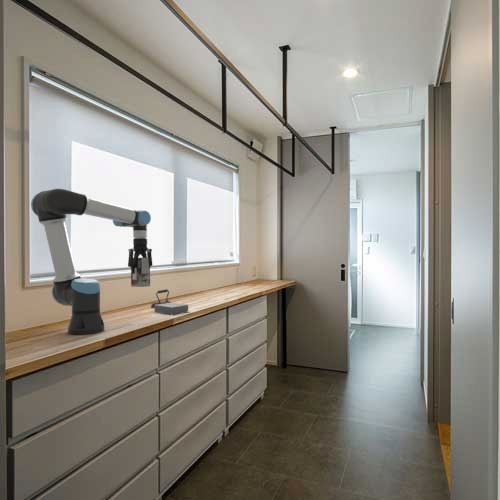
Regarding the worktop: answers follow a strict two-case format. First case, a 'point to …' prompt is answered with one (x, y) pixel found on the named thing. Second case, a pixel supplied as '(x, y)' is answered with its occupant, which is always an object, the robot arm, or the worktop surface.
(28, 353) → the worktop surface
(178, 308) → the plinth
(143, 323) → the worktop surface
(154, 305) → the clothes iron
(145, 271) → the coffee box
